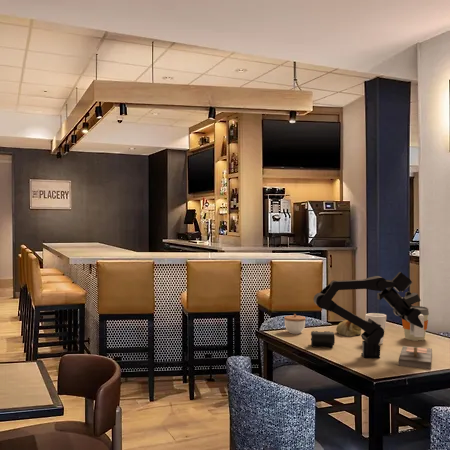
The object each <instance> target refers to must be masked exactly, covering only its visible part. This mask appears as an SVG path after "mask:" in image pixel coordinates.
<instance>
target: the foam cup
mask: <svg viewBox="0 0 450 450" xmlns="http://www.w3.org/2000/svg"><path fill="white" fill-rule="evenodd" d="M369 318H370V319H371V320H373V321H374V322H377V323H379V324H380V325H381V326H380V327H382V328H383V329H384V331H385V329H386V323H387V314H385V313H379V312H377V313H376V312H370V313H365V319H364V320H366V321H368V319H369ZM384 337H385V335H384V336H383V337H382V338H381V340H380V343H379V345H381V344H382V345H383V344H384Z"/></svg>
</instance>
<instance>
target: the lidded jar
mask: <svg viewBox="0 0 450 450" xmlns="http://www.w3.org/2000/svg"><path fill="white" fill-rule="evenodd" d="M306 319H307V318H306V317H305V316H304V315H297V313H293V315H286V316H285V315H284V326H285V329H286V331H288V333H289V334H293V335H298V334H299V335H300V334H302V332H304V329H305V327H306Z"/></svg>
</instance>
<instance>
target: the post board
mask: <svg viewBox="0 0 450 450" xmlns="http://www.w3.org/2000/svg"><path fill="white" fill-rule="evenodd" d="M432 359H433V348H429V347H419V346H418V347H417V346H416V347H415V346H406V345H402V348H401V351H400V354H399V357H398V366H401V367H409V368H411V367H412V368H421V369H429V370H430V369H432Z"/></svg>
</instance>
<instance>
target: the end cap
mask: <svg viewBox="0 0 450 450" xmlns="http://www.w3.org/2000/svg"><path fill="white" fill-rule="evenodd" d="M310 336H311V337H310V341H311V343H310V345H311V346H312V347H317V348H318V347H321V348H326V347H329V348H330V347H331V348H332V347H333V346H334V345H335V343H336V342H335V339H336V337H335V332H334V331H327V330H326V331H317V330H316V331H315V330H313V331H311V332H310Z"/></svg>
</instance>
